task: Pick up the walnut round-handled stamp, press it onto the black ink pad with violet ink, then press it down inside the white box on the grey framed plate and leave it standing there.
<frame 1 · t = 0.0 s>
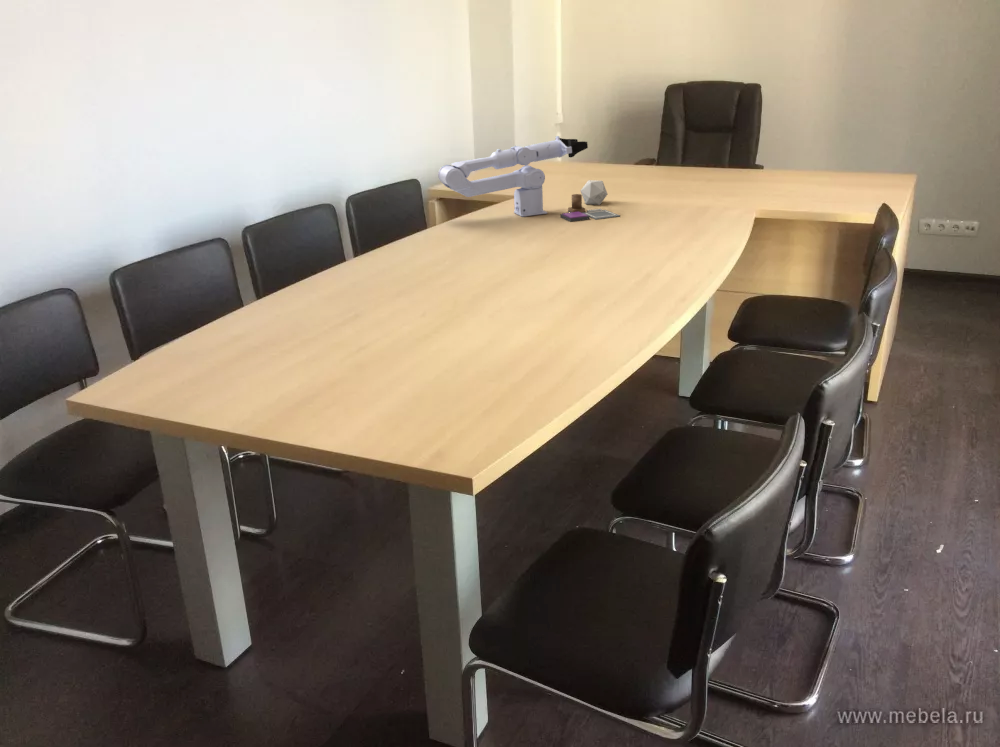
hand: (582, 143, 287), 22 cm above the table, tool horizontal, fingers open, 7 cm apart
grey framed plate: (600, 214, 283), on the table
ink pad: (574, 218, 280), on the table
die: (594, 204, 300), on the table
stamp: (576, 212, 288), on the table
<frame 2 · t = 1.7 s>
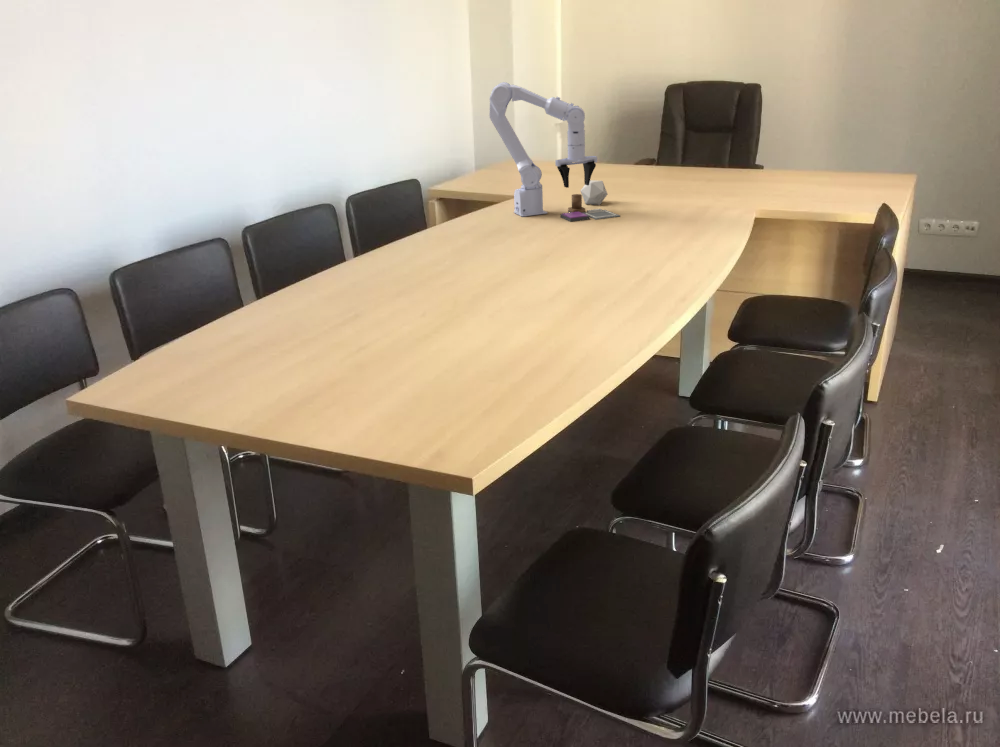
hand: (576, 186, 284), 9 cm above the table, tool pointing down, fingers open, 7 cm apart
nothing on the table moved.
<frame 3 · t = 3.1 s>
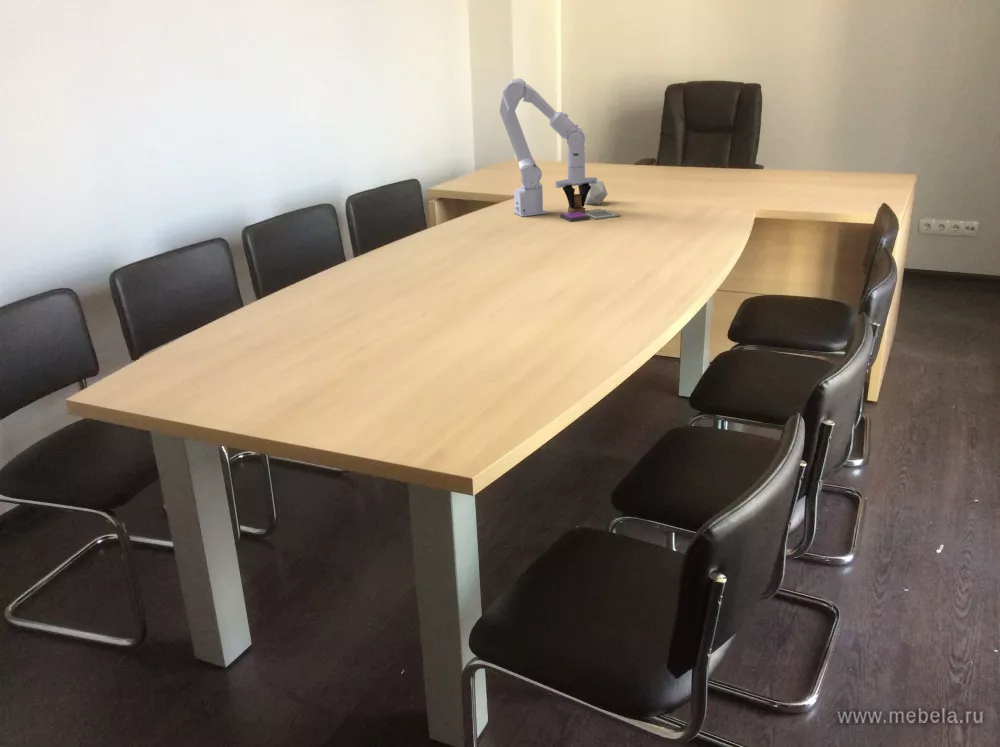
hand: (576, 206, 287), 2 cm above the table, tool pointing down, fingers closed on stamp, 3 cm apart
stamp: (576, 212, 288), on the table, touching gripper
everything else where it was.
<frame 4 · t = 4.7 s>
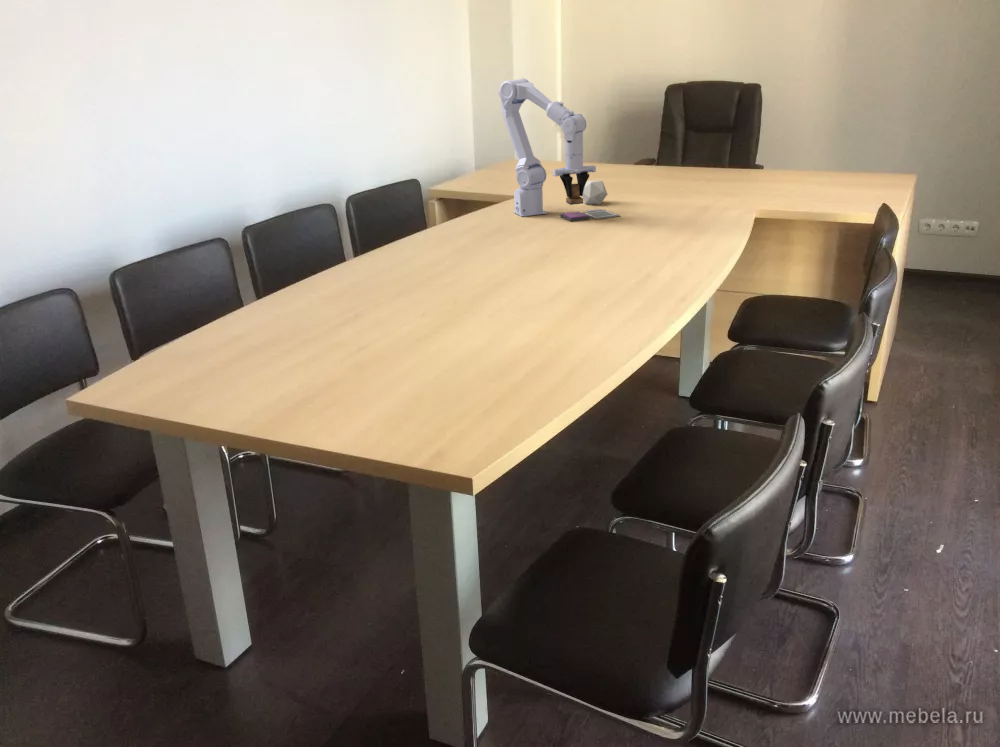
hand: (574, 196, 277), 7 cm above the table, tool pointing down, fingers closed on stamp, 3 cm apart
stamp: (574, 202, 278), point 5 cm above the table, touching gripper
everything else where it was.
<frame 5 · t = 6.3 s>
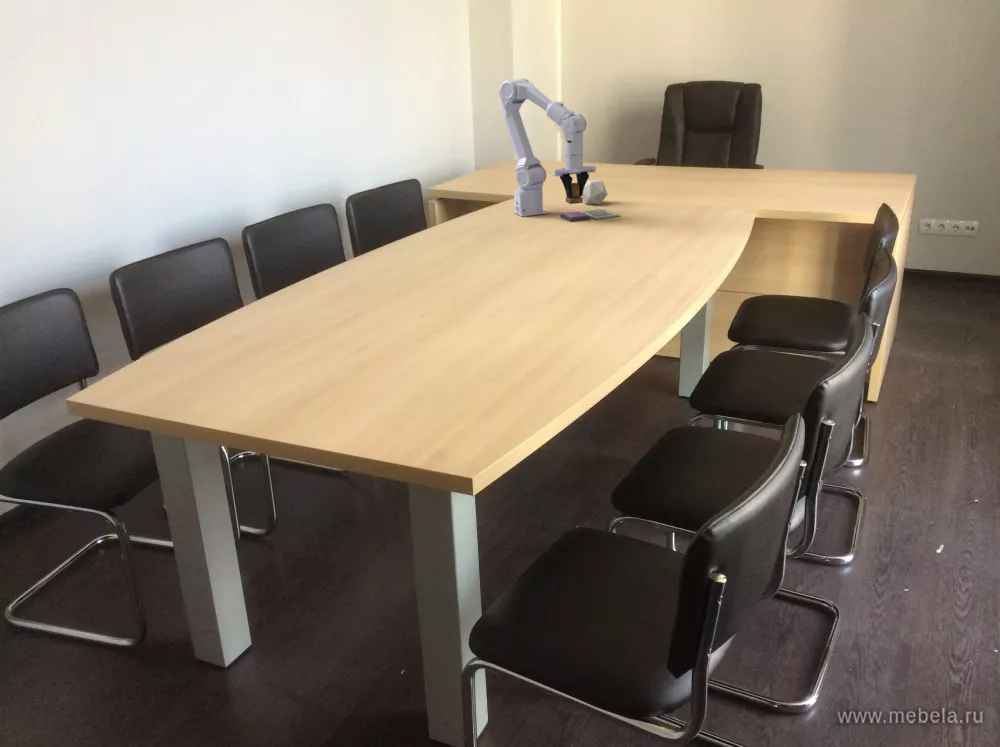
hand: (574, 196, 277), 7 cm above the table, tool pointing down, fingers closed on stamp, 3 cm apart
stamp: (574, 202, 278), point 5 cm above the table, touching gripper
everything else where it was.
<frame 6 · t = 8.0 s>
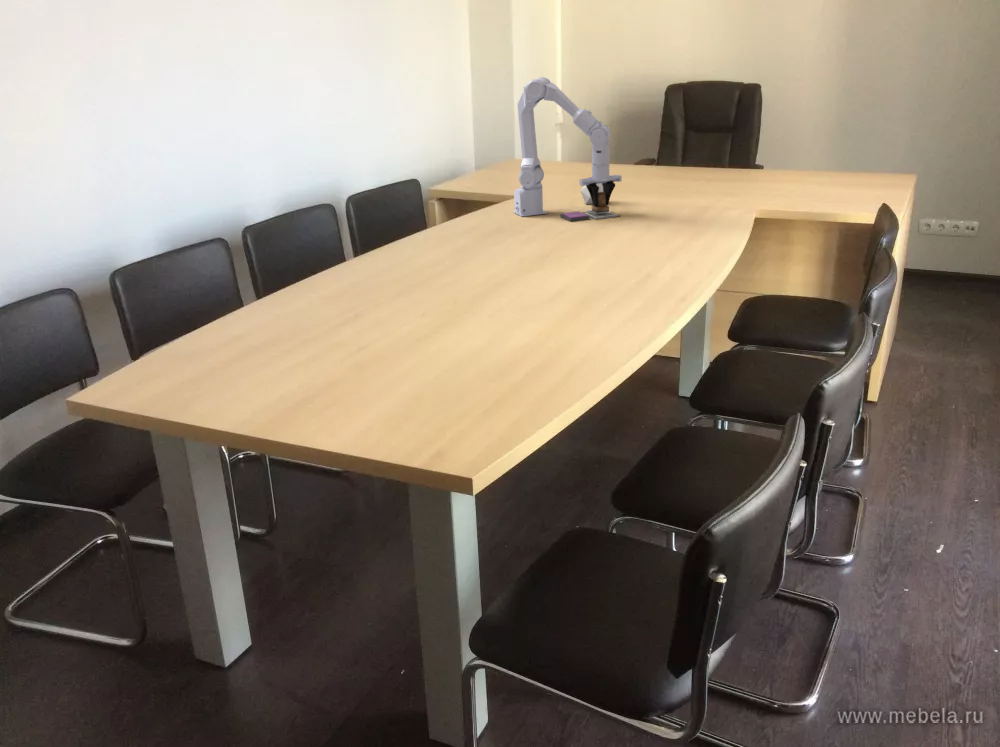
hand: (600, 205, 281), 3 cm above the table, tool pointing down, fingers closed on stamp, 3 cm apart
stamp: (600, 210, 282), point 1 cm above the table, touching gripper
everything else where it was.
when the fingers open (3 cm above the table, at t = 9.5 s): stamp stays where it is, resting on grey framed plate.
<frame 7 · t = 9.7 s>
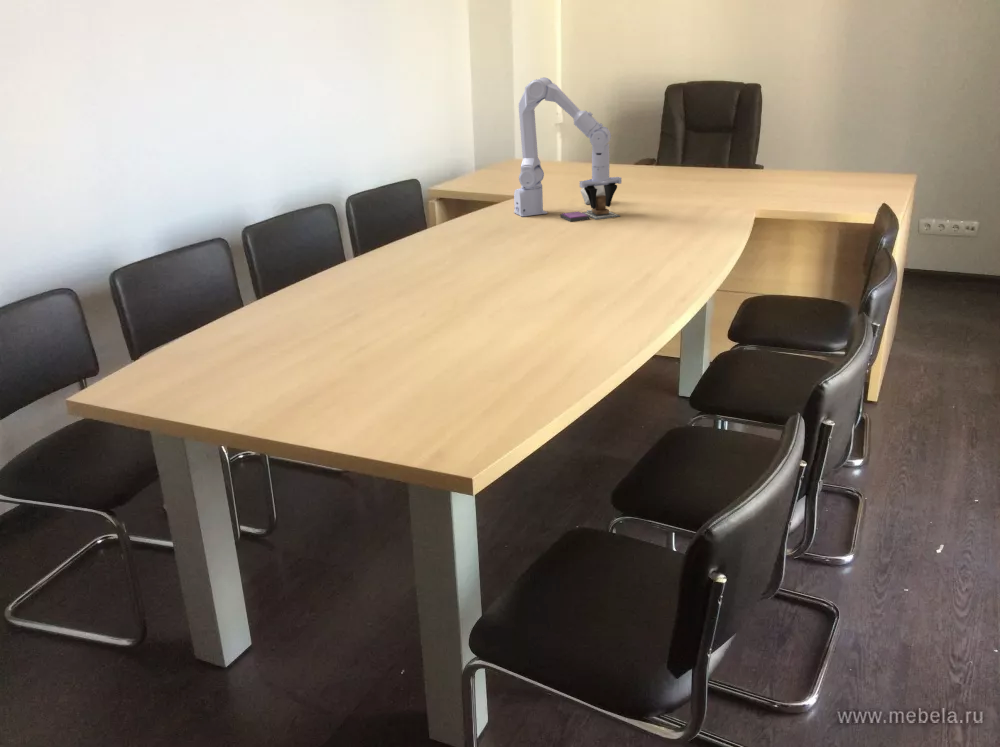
hand: (600, 207, 282), 3 cm above the table, tool pointing down, fingers open, 5 cm apart
stamp: (600, 214, 282), resting on grey framed plate
everything else where it was.
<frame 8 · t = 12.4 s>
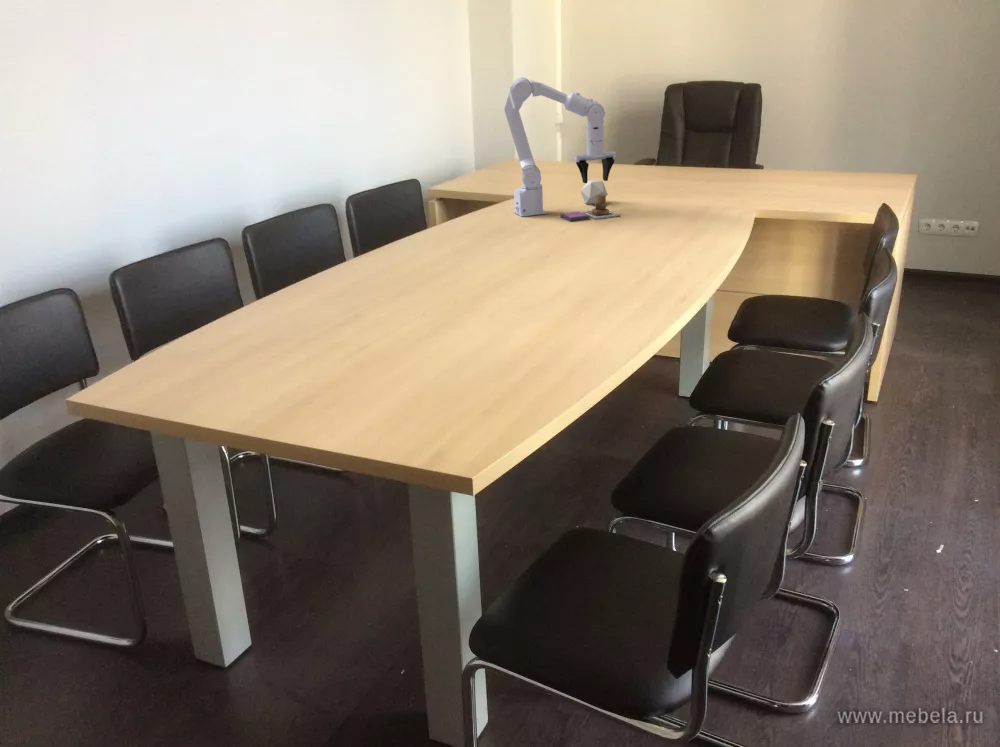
hand: (595, 181, 285), 10 cm above the table, tool pointing down, fingers open, 7 cm apart
nothing on the table moved.
at the end: stamp 0.0 cm off-centre on the grey framed plate, point 0.3 cm above the grey framed plate's base; stamp tilted 0°; the gripper is holding nothing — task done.
